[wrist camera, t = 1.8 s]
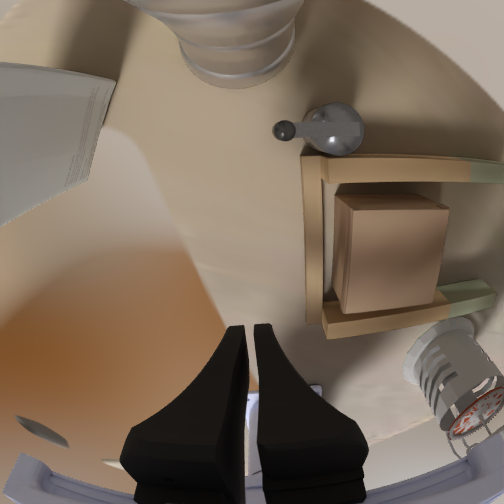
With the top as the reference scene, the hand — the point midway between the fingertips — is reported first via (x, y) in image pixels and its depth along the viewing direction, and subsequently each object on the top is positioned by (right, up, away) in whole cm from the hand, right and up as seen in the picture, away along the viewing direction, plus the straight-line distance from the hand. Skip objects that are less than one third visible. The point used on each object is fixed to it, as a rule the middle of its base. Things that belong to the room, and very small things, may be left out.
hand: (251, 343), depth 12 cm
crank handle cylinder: (+4, +12, +6) cm, 14 cm away
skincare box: (-13, +13, +6) cm, 20 cm away
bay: (+13, +5, +9) cm, 17 cm away
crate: (+9, +5, +9) cm, 14 cm away
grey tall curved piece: (+21, -8, +15) cm, 27 cm away
